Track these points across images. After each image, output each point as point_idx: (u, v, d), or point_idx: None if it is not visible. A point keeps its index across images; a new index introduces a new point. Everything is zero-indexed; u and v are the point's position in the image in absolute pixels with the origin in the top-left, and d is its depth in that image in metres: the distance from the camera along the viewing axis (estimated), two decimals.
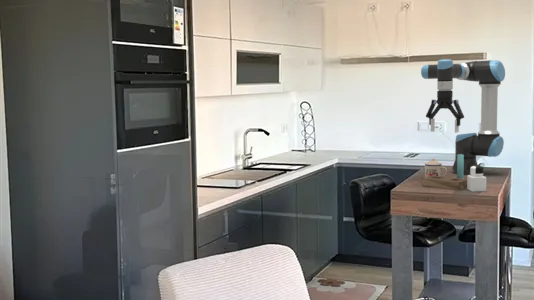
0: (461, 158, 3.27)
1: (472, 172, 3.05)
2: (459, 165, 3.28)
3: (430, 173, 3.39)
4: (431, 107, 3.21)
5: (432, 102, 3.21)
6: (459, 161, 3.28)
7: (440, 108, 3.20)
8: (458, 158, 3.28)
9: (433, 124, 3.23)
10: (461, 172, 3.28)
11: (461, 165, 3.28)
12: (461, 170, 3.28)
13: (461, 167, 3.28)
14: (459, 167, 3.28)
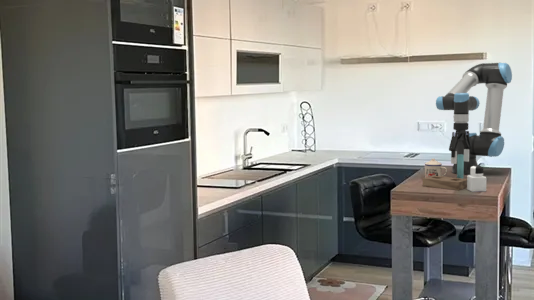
0: (461, 158, 3.27)
1: (472, 172, 3.05)
2: (459, 165, 3.28)
3: (430, 173, 3.39)
4: None
5: None
6: (459, 161, 3.28)
7: (465, 139, 3.29)
8: (458, 158, 3.28)
9: (466, 154, 3.33)
10: (461, 172, 3.28)
11: (461, 165, 3.28)
12: (461, 170, 3.28)
13: (461, 167, 3.28)
14: (459, 167, 3.28)
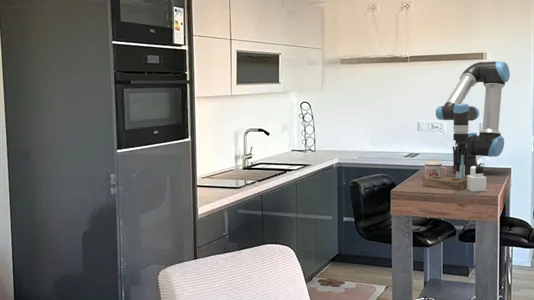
0: None
1: (472, 172, 3.05)
2: None
3: (430, 173, 3.39)
4: None
5: None
6: None
7: (463, 151, 3.29)
8: None
9: None
10: (461, 172, 3.28)
11: (461, 165, 3.28)
12: (461, 170, 3.28)
13: (461, 167, 3.28)
14: None
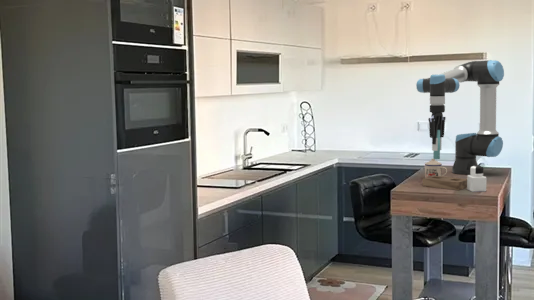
0: (437, 133, 3.19)
1: (472, 172, 3.05)
2: None
3: (430, 173, 3.39)
4: None
5: None
6: None
7: (440, 123, 3.20)
8: None
9: None
10: None
11: None
12: None
13: None
14: None
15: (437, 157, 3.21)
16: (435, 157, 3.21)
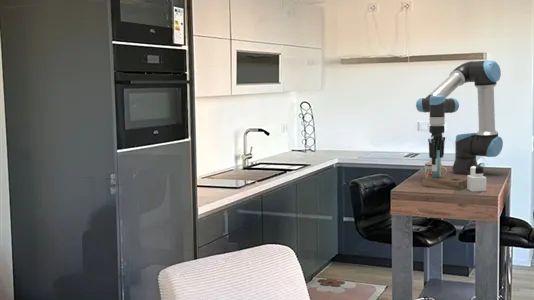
0: None
1: (472, 172, 3.05)
2: None
3: (430, 173, 3.39)
4: None
5: None
6: None
7: (439, 144, 3.22)
8: None
9: None
10: (437, 168, 3.21)
11: (437, 161, 3.21)
12: (437, 166, 3.21)
13: (437, 163, 3.21)
14: None
15: (437, 177, 3.22)
16: (435, 177, 3.22)
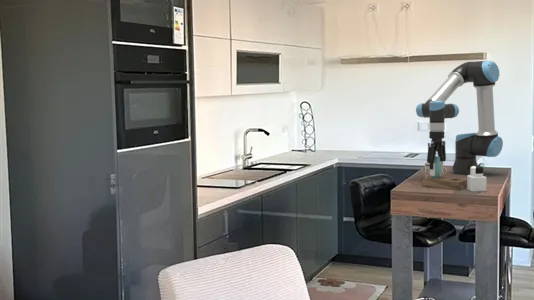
0: (437, 160, 3.21)
1: (472, 172, 3.05)
2: (435, 167, 3.22)
3: None
4: None
5: None
6: (435, 163, 3.21)
7: (440, 149, 3.22)
8: None
9: (440, 167, 3.25)
10: (437, 174, 3.22)
11: (437, 167, 3.21)
12: (437, 172, 3.22)
13: (437, 169, 3.21)
14: (435, 169, 3.22)
15: None
16: None
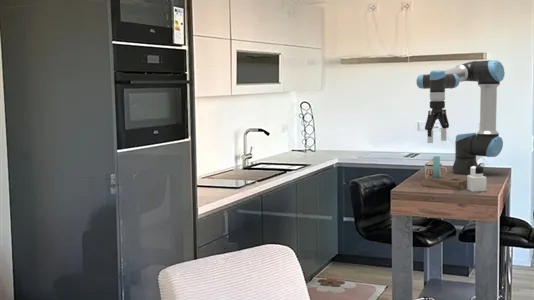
0: (436, 160, 3.21)
1: (472, 172, 3.05)
2: (435, 167, 3.22)
3: (430, 173, 3.39)
4: None
5: None
6: (435, 163, 3.21)
7: (441, 118, 3.22)
8: (434, 160, 3.22)
9: (443, 133, 3.26)
10: (437, 174, 3.22)
11: (437, 167, 3.21)
12: (437, 172, 3.22)
13: (437, 169, 3.21)
14: (435, 169, 3.22)
15: None
16: None
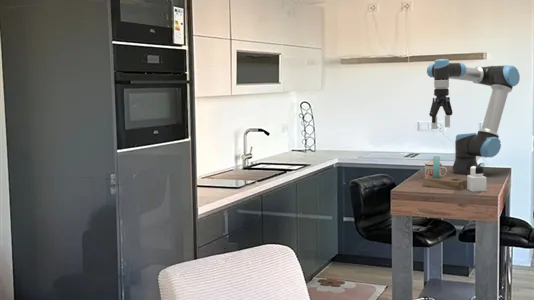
0: (436, 160, 3.21)
1: (472, 172, 3.05)
2: (435, 167, 3.22)
3: (430, 173, 3.39)
4: None
5: None
6: (435, 163, 3.21)
7: (445, 105, 3.34)
8: (434, 160, 3.22)
9: (447, 120, 3.38)
10: (437, 174, 3.22)
11: (437, 167, 3.21)
12: (437, 172, 3.22)
13: (437, 169, 3.21)
14: (435, 169, 3.22)
15: None
16: None
